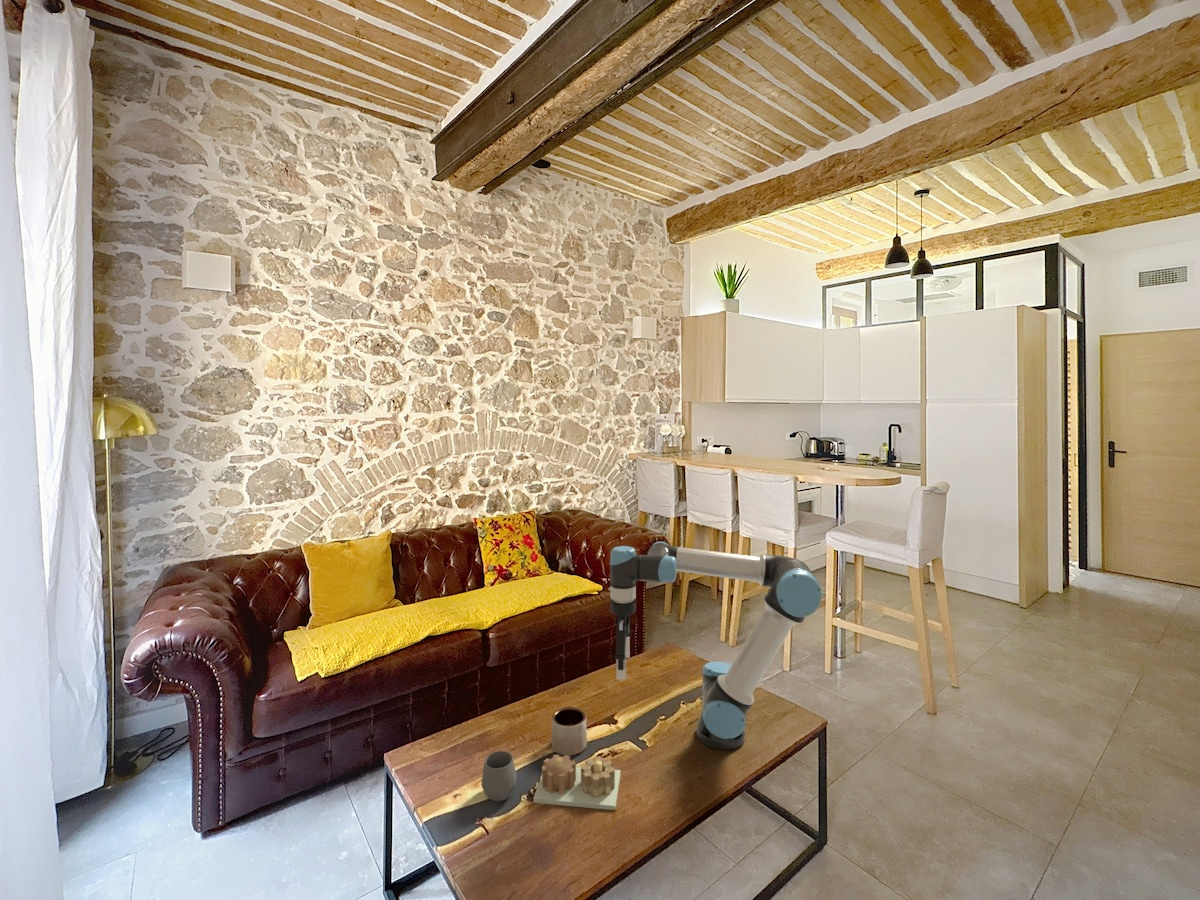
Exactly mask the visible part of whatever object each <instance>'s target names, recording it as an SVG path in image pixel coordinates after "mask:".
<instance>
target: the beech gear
mask: <svg viewBox="0 0 1200 900" xmlns="http://www.w3.org/2000/svg"><path fill="white" fill-rule="evenodd" d="M595 761H601V762H602V773H600V774H598V773H594V762H595ZM580 767H581V786H583V792H584V793H585V794H588V793H590V794H593V797H597V798H599V795H603V794H604V795H605V796H607V795H609V794H611V789H614V788H615V770H616V767H614V763H613V762H612V761H611V760H610V759H608V760H607V761H606V760H605V759H604V757H601V756H599V757H598V756H597V757H596V758H594V759H592V758H589V759H586V760H585V764H581V766H580Z"/></svg>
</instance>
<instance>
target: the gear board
mask: <svg viewBox="0 0 1200 900" xmlns="http://www.w3.org/2000/svg"><path fill="white" fill-rule="evenodd" d="M576 765H577V764H576V762H575V760H571V756H567V755H563V756H560V754H559V753H557V754H553V755H552V758H546V759H545V760H543V765H542V766H541V775H540V779H539V781H538V784H537V787H536V790H535V793H534V795H533V798H532V799H533V800H532V801H533V803H534V804H544V805H554V806H563V807H564V806H565V807H576V808H587V809H596V810H597V809H598V810H609V811H616V809H617V803H618V795H619V789H620V788H619V787H620V781H621V774H622V773H621V772H622V771H621V769H615V788H614V789H611V794H609V795H607V796H605V795H604V794H603V795H599V798H597V797H593V794H590V793H588V794H585V793H584V792H583V786H581V766H576ZM594 773H598V774H600V773H602V762H601V761H595V762H594Z"/></svg>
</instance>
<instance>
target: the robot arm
mask: <svg viewBox="0 0 1200 900" xmlns="http://www.w3.org/2000/svg"><path fill="white" fill-rule="evenodd" d="M677 572H682V573H687V574H689V573H690V574H694V575H695V574H696V575H706V576H711V577H719V578H724V579H725V578H726V579H732V580H733V579H735V580H741V581H749V582H756V583H758V585H760V586H761V587H768V588H769V590H768V592H767V594H766V595H765V597H763V601H764V605H765V608H764V609H763V611H762V613H761V615H760V616H759V618H758V620H757V621H756V623H755V625H754V627H753V628H752V630H751V631H750V633H749V635H748V637H747V638H746V640H745V641H744V643H743V645H742V647H741V648H740V650H739V652H738V653H737V655H736V657H735V658H734V660H733V661H732V663H729V662H725V661H710V662H707V663H705V664H704V665H703V666H702V667H703V668H702V672H701V675H702V709H701V712H700V715H699V718H698V720H697V723H696V736H697V738H698V740H699V741H700V742H701V743H702V744H704V745H706V746H708V747H711V748H713V749H716V750H722V751H724V750H725V751H728V750H729V751H730V750H734V749H738V748H740V747H741V746H742V745H744V743H745V741H746V730H745V727H746V722H747V720H746V716H747V714H748V712H749V710H750V709H751V708H752V706H753V704H754V703H755V698H754V694H753V693H754V691H755V689H756V688H757V686H758V684H759V683H760V681H761V680H762V678H763V677H764V675H765V673H766V671H767V670H768V668H769V667H770V665H771V663H772V661H773V660H774V658H775V657H776V655H777V653H778V652H779V650H780V648H781V647H782V645H783V643H784V642H785V640H786V638H787V637H788V635H789V633H790V632H791V630H792V629H793V627H794V626H795V625H801V624H803V622H804V620H805V619H806V617H808V616H810V615H812V614H814V613H815V612H816V611H817V610H818V609H819V607H820V605H821V602H822V597H823V594H822V589H821V585H820V582H819V581H818V579H817V577H816V576H815V575H814V574H813V573H812V571H811V569H810V568H809V566H808V565H807V564H806V563H805V562H804V561H802V560H800V559H798V558H795V557H790V556H786V555H785V556H783V555H774V554H773V555H772V554H767V553H766V554H765V553H762V554H761V555H760V556H755V555H746V554H738V553H730V552H722V551H714V550H707V549H697V548H689V547H683V546H682V547H681V546H676V545H675V546H674V545H669V543H666V542H665V541H656V542H655V543H653V544H652V545H651V546H650V547H649V548H648V551H647V554H637V552H636V548H634V547H633V546H629V545H620V546H615V547H612V549H611V550H610V561H609V577H610V579H609V581H610V583H609V585H610V587H608V591H609V592H610V602H609V603H610V604H609V605H610V613H612V614H613V615H616V619H615V625H616V628H615V632H616V639H615V642H616V643H615V645H616V647H615V655H613V659H615V665H616V667H615V671H616V672H615V673H616V675H615V676H616V677H615V678H616V680H621V681H623V680H624V681H626V679H627V659H629V658H631V656H630V653H631V651H630V649H631V647H630V639H631V638H630V637H633V636H632V635H633V634H632V631H631V628H630V622H631V616H632V615H634V614H635V613H636V609H637V608H636V606H637V604H636V603H637V602H636V598H637V593H636V592H637V589H636V588H637V587H636V582H637V581H638V582H654V583H655V582H656V583H674V582H676V580H677Z"/></svg>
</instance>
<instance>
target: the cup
mask: <svg viewBox="0 0 1200 900" xmlns="http://www.w3.org/2000/svg"><path fill="white" fill-rule="evenodd" d="M516 784H517V771H516V766H515V761H514V757H513V755H512V754H511V753H510V752H508V751H505V750H497V751H494V752H491V753H489V754H488V755H487V756H486V757H485V758H484V764H483V770H482V776H481V788H482V790H483V792H484V794H485V795H486V796H487V798H488V799H489V800H490V801H493V802H502V801H504V800H507V799H508V798H509V797H510V796H511V795H512V793H513V791H514V788H515V787H516Z"/></svg>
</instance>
